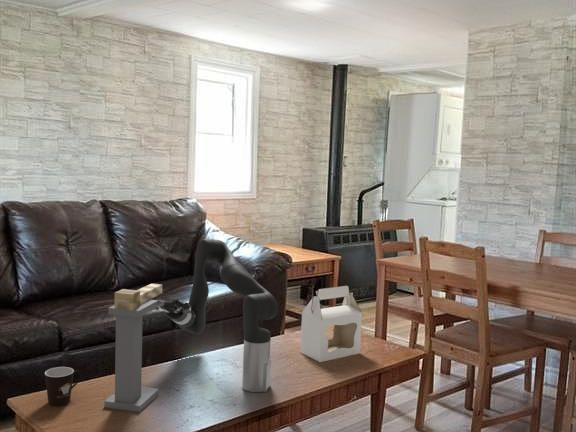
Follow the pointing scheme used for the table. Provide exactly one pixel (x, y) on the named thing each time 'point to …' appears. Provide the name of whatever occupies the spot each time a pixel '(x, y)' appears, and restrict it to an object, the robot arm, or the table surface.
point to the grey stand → (130, 360)
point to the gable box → (321, 319)
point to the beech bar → (136, 296)
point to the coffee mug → (60, 385)
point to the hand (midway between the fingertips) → (164, 300)
